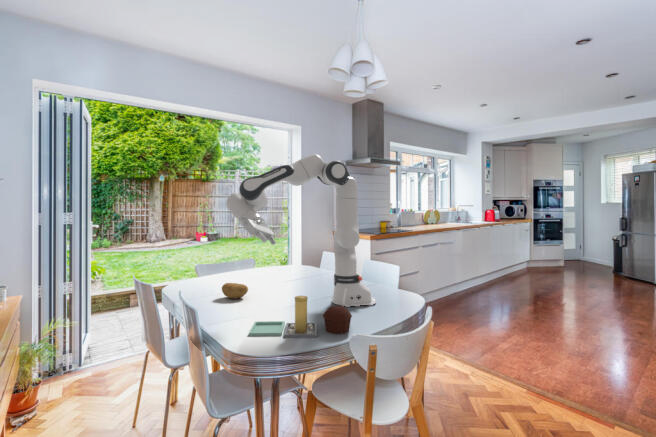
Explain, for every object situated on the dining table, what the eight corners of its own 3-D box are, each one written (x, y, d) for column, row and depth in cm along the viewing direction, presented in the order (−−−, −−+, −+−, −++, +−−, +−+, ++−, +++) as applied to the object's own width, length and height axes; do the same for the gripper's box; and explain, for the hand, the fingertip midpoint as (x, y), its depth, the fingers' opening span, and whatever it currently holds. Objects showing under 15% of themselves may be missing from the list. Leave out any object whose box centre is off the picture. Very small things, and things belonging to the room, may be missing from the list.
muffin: (328, 325, 133) (328, 301, 132) (354, 328, 129) (354, 303, 129) (318, 336, 121) (318, 310, 121) (347, 340, 118) (347, 313, 118)
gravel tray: (316, 327, 130) (316, 321, 130) (316, 340, 118) (316, 333, 118) (286, 328, 130) (286, 322, 129) (283, 340, 118) (283, 334, 118)
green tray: (284, 326, 132) (284, 321, 131) (281, 338, 120) (281, 332, 119) (255, 326, 131) (255, 321, 131) (248, 338, 119) (248, 333, 119)
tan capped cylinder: (307, 328, 126) (307, 295, 126) (307, 333, 121) (307, 299, 121) (295, 328, 126) (295, 295, 126) (294, 333, 121) (294, 299, 121)
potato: (243, 301, 165) (243, 286, 165) (218, 300, 168) (218, 284, 168) (251, 296, 175) (251, 281, 174) (227, 294, 178) (227, 280, 177)
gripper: (245, 211, 137) (265, 234, 132) (265, 220, 156) (283, 240, 152) (234, 222, 137) (254, 245, 133) (256, 229, 156) (274, 249, 152)
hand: (270, 242), depth 142 cm, fingers open, 8 cm apart
